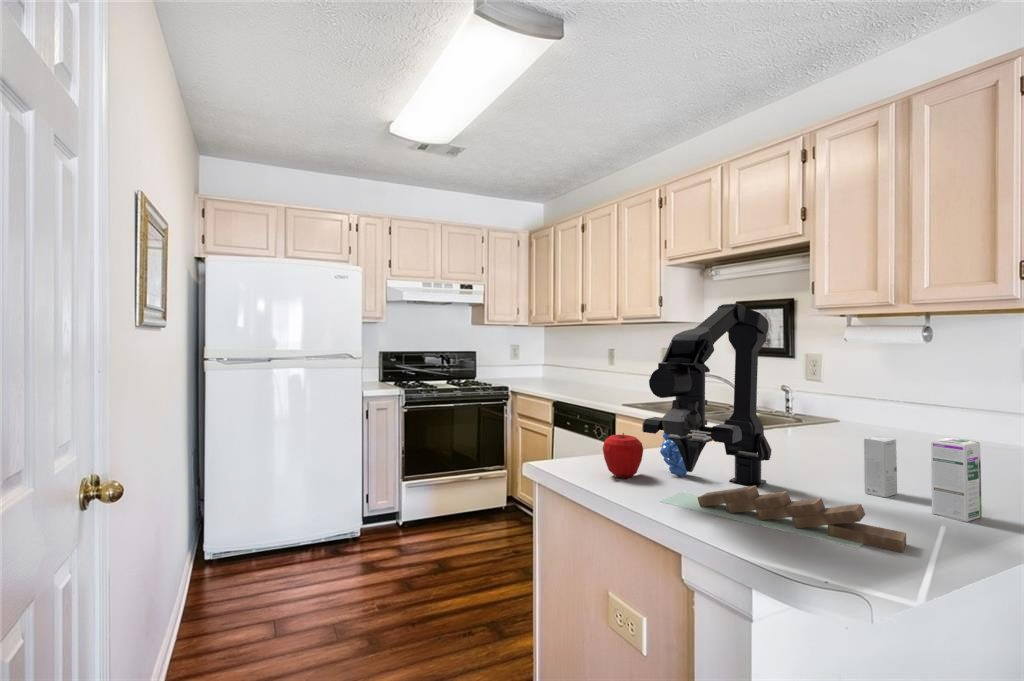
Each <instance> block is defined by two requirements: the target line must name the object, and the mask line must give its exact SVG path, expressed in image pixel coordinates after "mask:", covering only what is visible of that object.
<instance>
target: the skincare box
mask: <svg viewBox="0 0 1024 681" xmlns="http://www.w3.org/2000/svg"><path fill="white" fill-rule="evenodd" d="M897 460H898V459H897V439H896V438H890V437H884V436H883V437H882V436H872V437H866V438H865V437H864V438H863V468H864V469H863V472H864V473H863V474H864V476H863V477H864V479H863V481H864V482H863V484H864V486H863V487H864V494H867V495H871V496H875V497H880V498H889V497H891V496H895V495H897V494H898V471H897V470H898V469H897V468H898V467H897V466H898V465H897Z"/></svg>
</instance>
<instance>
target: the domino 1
mask: <svg viewBox="0 0 1024 681" xmlns="http://www.w3.org/2000/svg"><path fill="white" fill-rule="evenodd" d="M758 490H759V489H758V487H756V486H744V487H743V486H742V487H736V488H730V489H723V490H715V491H709V492H705V493H704V494H702V495H700V497H697V498H698V501H699V504H700V507H703V506H711V505H719V504H726V503H734V502H742V501H750V500H752V499H754V498H755V497H757V496H759V495H760V493H759V491H758Z"/></svg>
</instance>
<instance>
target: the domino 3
mask: <svg viewBox="0 0 1024 681" xmlns="http://www.w3.org/2000/svg"><path fill="white" fill-rule="evenodd" d="M825 508H826V506H825V503H824V501H823V498H822V497H818V498H808V499H800V500H791V502H789V503H788V504H787V505H785V506H784V507H778V508H770V509H761V510H756V512H757V515H758V518H759V520H767V519H778V518H789V517H799V516H810V515H819V514H820V513H821V512H822V511H823V510H824V509H825Z"/></svg>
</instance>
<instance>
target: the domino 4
mask: <svg viewBox="0 0 1024 681" xmlns="http://www.w3.org/2000/svg"><path fill="white" fill-rule="evenodd" d="M865 516H866V512H865V509H864V508H863V504H862V503H857V504H849V505H848V504H847V505H841V506H833V507H832V506H831V507H825V509H824V510H823V511H822V512H821V513H820V514H819V515H810V516H799V517H792V520H793V523H794V525H795V528H805V527H814V526H824V525H833V524H842V523H851V522H856V523H861V521H862V519H864V517H865Z"/></svg>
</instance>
